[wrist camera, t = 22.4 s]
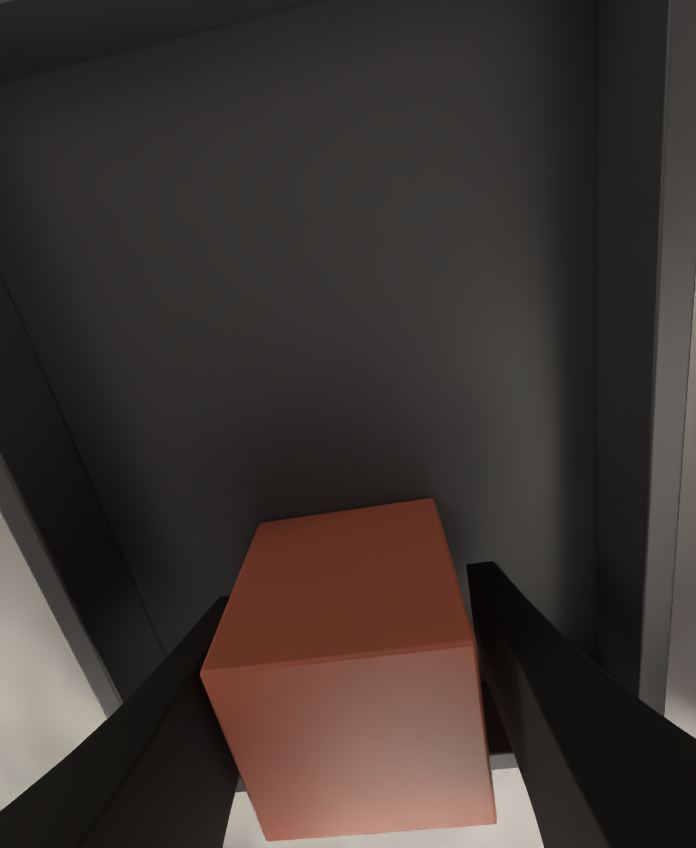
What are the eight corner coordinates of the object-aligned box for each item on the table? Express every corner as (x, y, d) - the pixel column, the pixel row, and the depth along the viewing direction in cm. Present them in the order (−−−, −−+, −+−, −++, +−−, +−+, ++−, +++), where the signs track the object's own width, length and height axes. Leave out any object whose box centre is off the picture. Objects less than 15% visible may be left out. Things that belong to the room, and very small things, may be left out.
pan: (609, 667, 13) (662, 755, 11) (183, 712, 14) (148, 801, 12) (618, -105, 7) (737, -274, 5) (-90, 82, 9) (-258, 16, 6)
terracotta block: (453, 635, 12) (498, 826, 8) (297, 653, 13) (265, 843, 9) (433, 495, 11) (477, 641, 7) (258, 521, 11) (197, 674, 7)
